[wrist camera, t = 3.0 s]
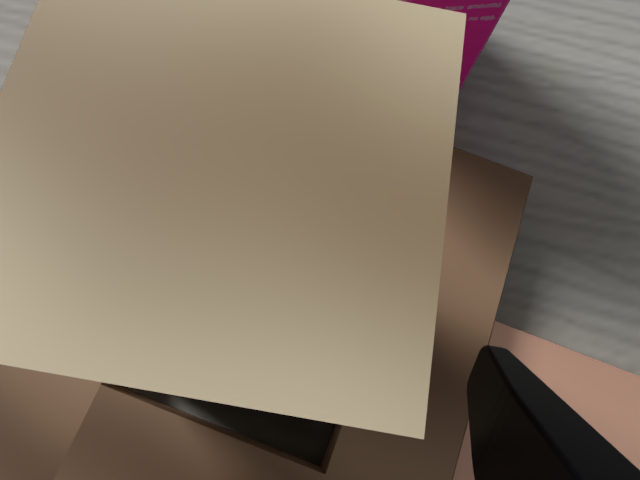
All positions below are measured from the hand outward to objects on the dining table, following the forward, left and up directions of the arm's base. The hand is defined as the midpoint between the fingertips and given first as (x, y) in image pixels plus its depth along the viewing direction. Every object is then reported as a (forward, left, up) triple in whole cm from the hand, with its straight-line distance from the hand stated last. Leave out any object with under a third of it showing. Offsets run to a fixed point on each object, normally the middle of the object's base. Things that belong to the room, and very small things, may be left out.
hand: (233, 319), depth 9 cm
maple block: (+1, 0, -9) cm, 9 cm away
